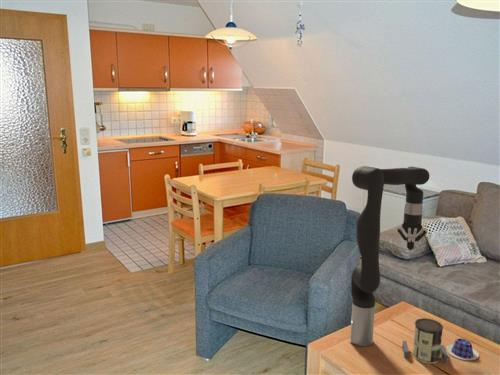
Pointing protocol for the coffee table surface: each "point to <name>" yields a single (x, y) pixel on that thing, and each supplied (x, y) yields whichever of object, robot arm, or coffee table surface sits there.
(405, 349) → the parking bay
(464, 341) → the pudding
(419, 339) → the coffee can
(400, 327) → the coffee table surface
